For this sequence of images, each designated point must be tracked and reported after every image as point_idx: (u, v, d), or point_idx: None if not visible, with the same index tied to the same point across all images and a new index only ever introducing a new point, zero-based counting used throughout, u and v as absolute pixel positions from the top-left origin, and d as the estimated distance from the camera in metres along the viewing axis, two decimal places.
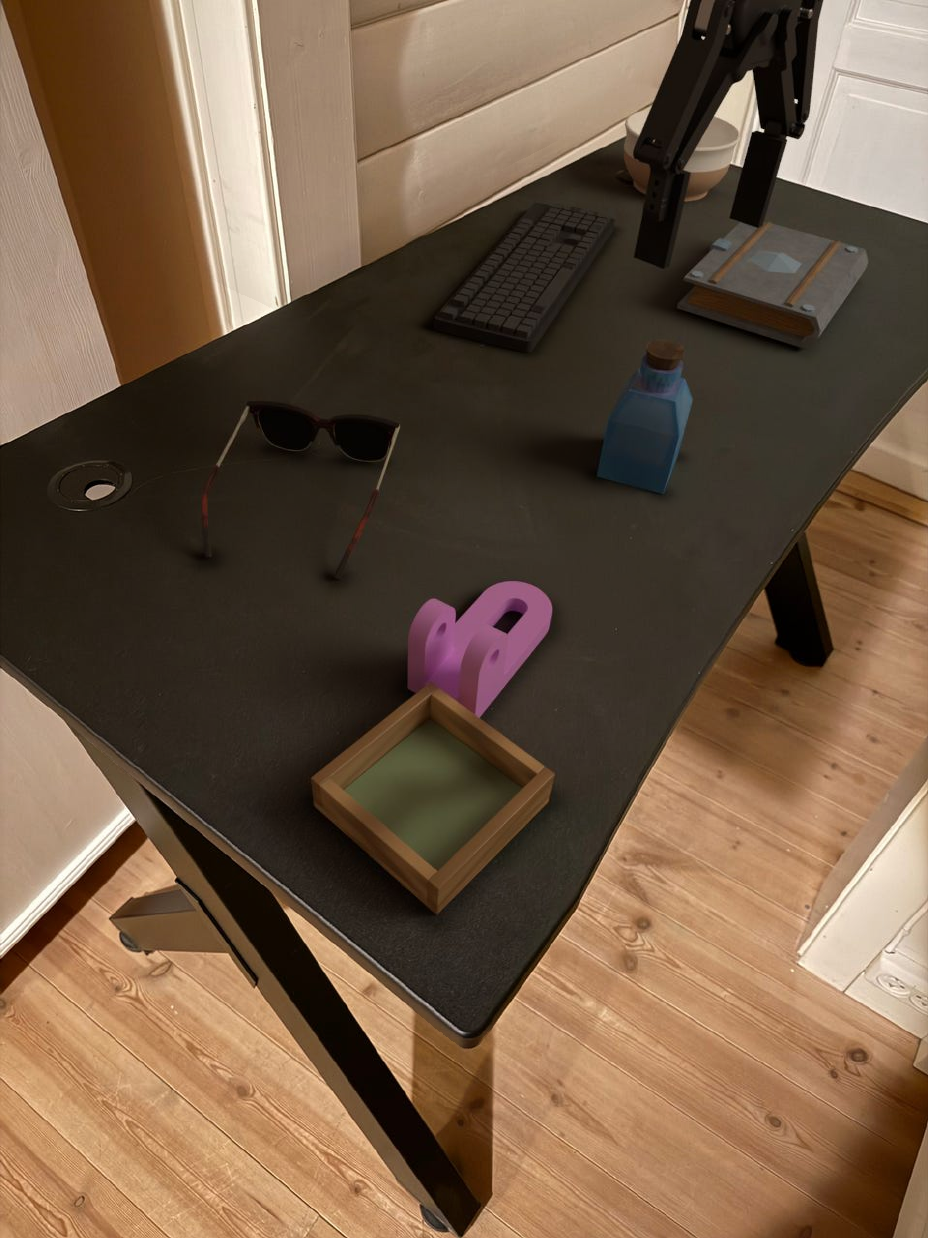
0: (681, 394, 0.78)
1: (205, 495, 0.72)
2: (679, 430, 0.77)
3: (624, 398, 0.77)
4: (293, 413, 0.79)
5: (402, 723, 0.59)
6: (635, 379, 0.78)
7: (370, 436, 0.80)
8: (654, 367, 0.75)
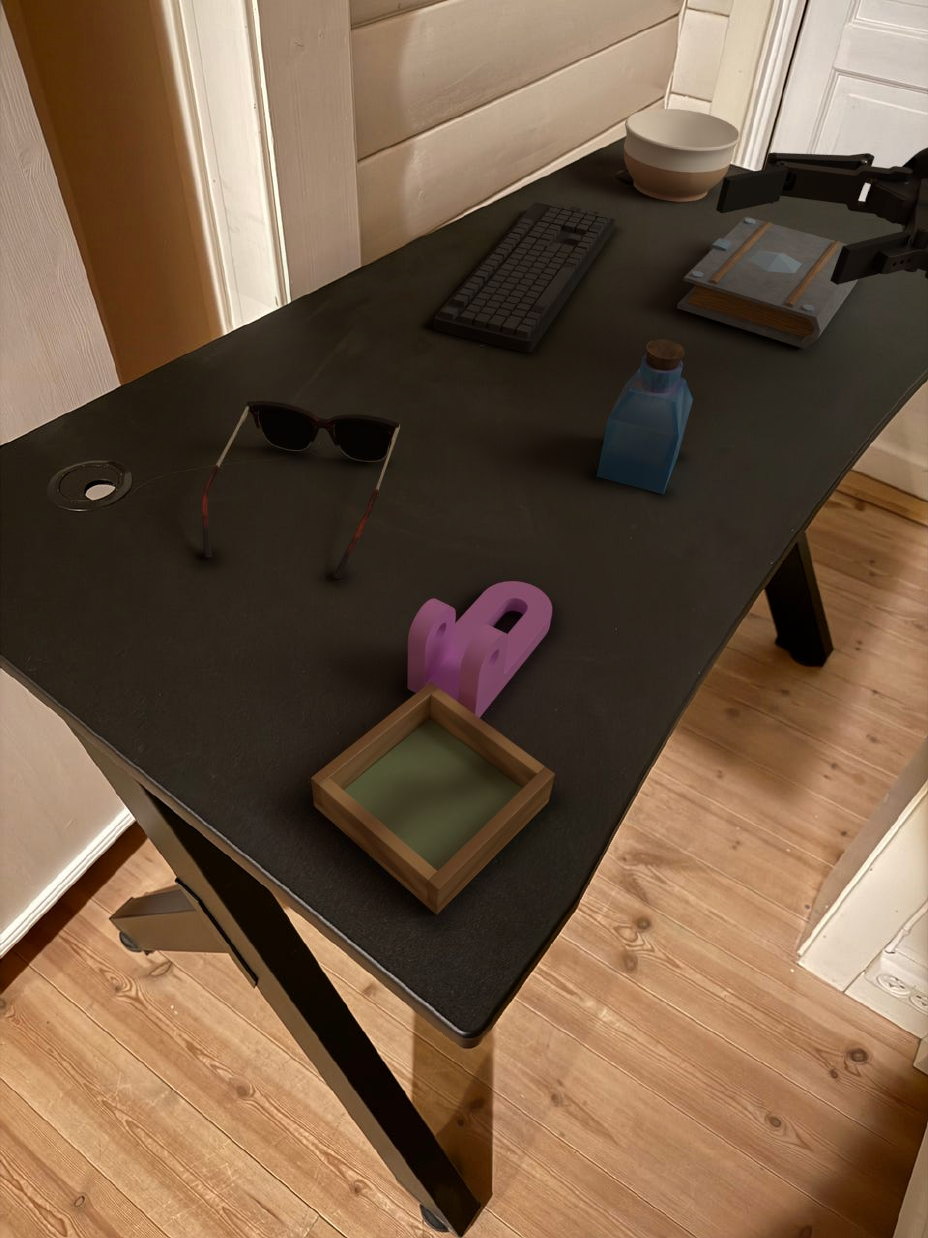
0: (681, 394, 0.78)
1: (205, 495, 0.72)
2: (679, 430, 0.77)
3: (624, 398, 0.77)
4: (293, 413, 0.79)
5: (402, 723, 0.59)
6: (635, 379, 0.78)
7: (370, 436, 0.80)
8: (654, 367, 0.75)
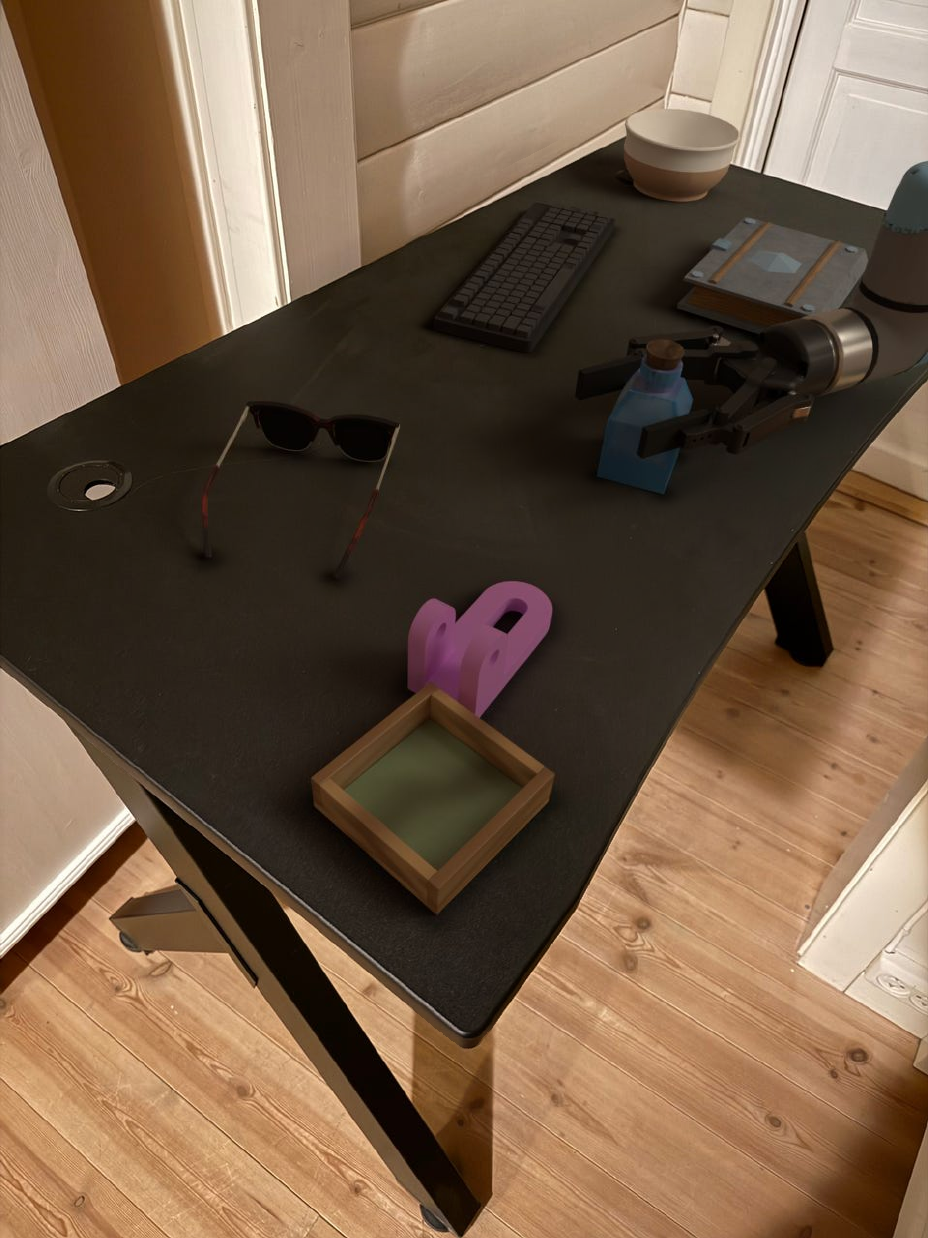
0: (682, 394, 0.78)
1: (205, 495, 0.72)
2: None
3: (624, 398, 0.77)
4: (293, 413, 0.79)
5: (402, 723, 0.59)
6: (635, 379, 0.78)
7: (370, 436, 0.80)
8: (654, 367, 0.75)
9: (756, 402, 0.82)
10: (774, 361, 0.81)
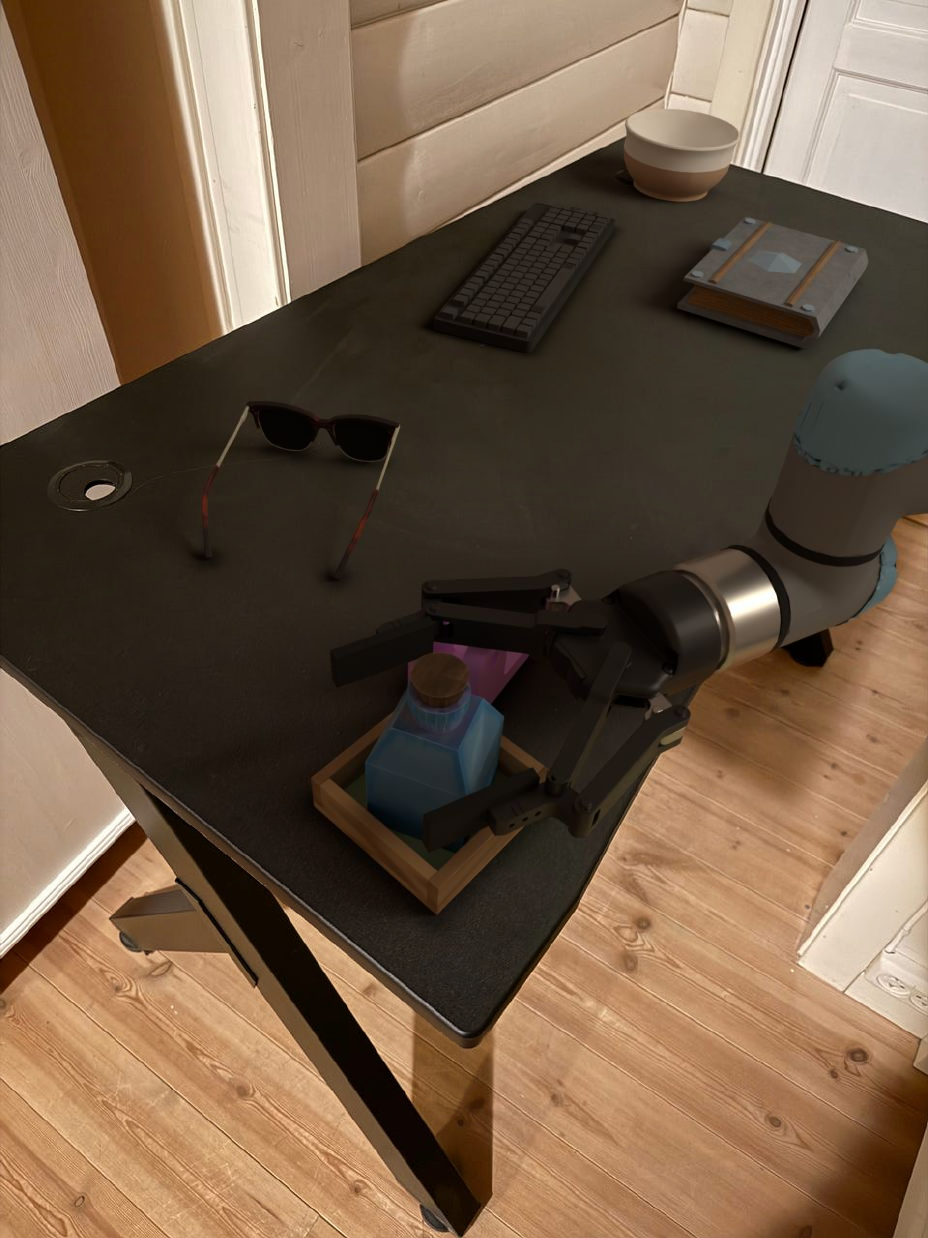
0: (475, 728, 0.51)
1: (205, 495, 0.72)
2: (468, 788, 0.50)
3: (385, 738, 0.50)
4: (293, 413, 0.79)
5: None
6: (406, 703, 0.51)
7: (370, 436, 0.80)
8: (423, 701, 0.49)
9: (609, 708, 0.54)
10: (628, 650, 0.53)
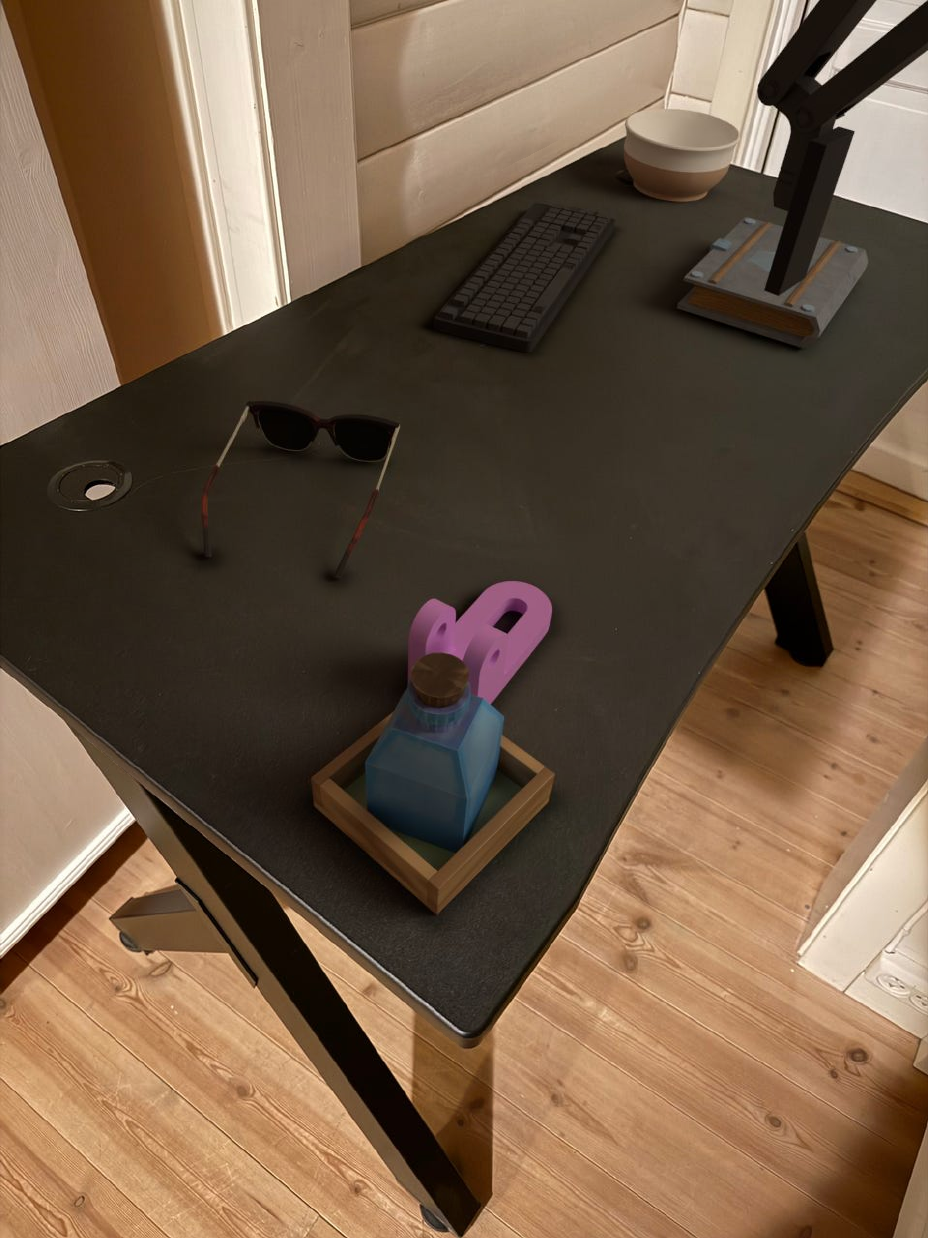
0: (475, 728, 0.51)
1: (205, 495, 0.72)
2: (468, 788, 0.50)
3: (385, 738, 0.50)
4: (293, 413, 0.79)
5: None
6: (406, 703, 0.51)
7: (370, 436, 0.80)
8: (423, 701, 0.49)
9: None
10: None
